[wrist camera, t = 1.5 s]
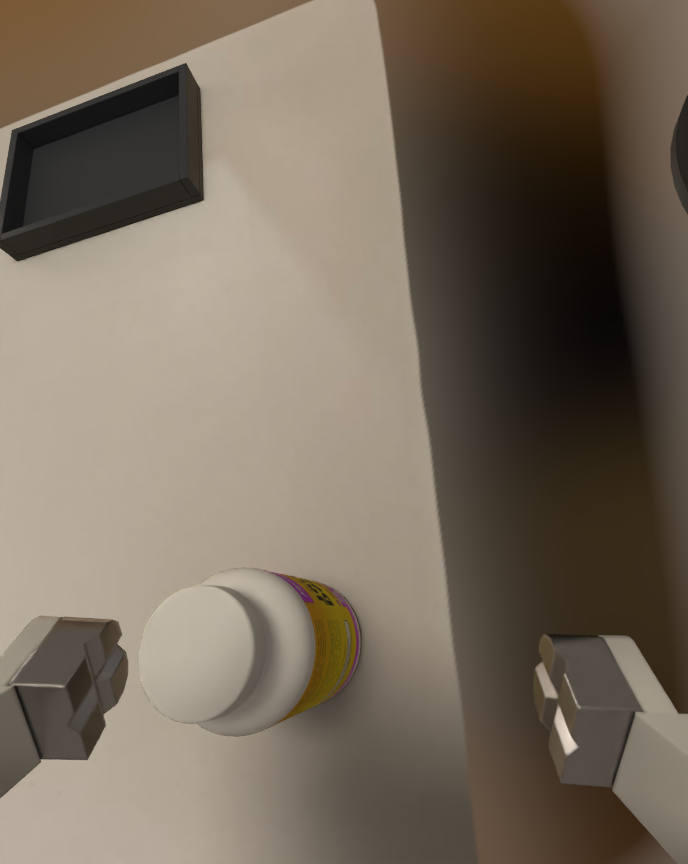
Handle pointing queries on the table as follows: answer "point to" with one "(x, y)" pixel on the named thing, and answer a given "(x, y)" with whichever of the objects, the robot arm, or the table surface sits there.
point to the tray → (103, 164)
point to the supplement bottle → (247, 650)
